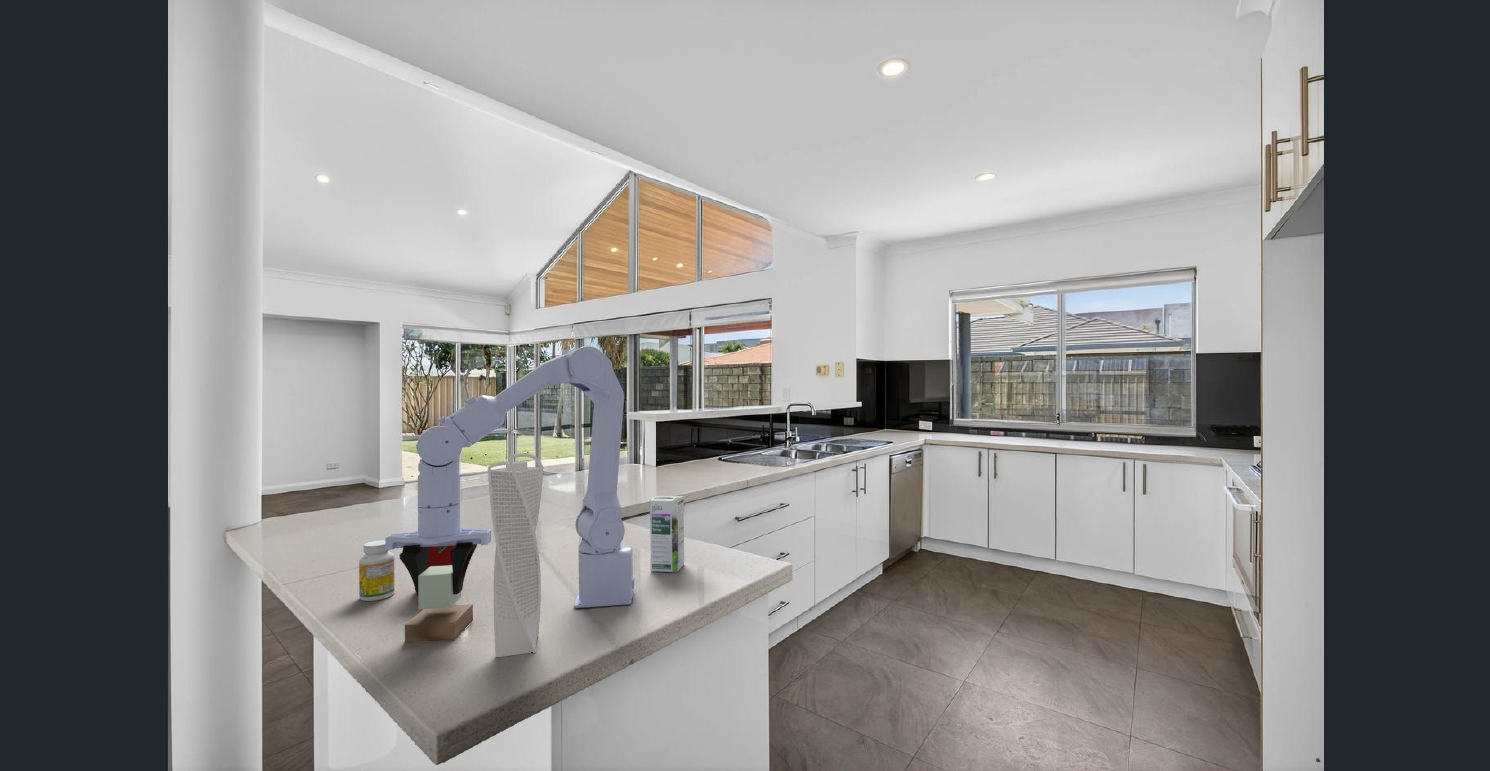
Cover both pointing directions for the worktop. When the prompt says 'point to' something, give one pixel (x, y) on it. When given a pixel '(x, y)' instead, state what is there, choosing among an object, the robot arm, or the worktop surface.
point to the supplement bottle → (376, 572)
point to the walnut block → (439, 624)
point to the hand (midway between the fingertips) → (440, 593)
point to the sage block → (436, 588)
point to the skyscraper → (516, 554)
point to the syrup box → (667, 533)
